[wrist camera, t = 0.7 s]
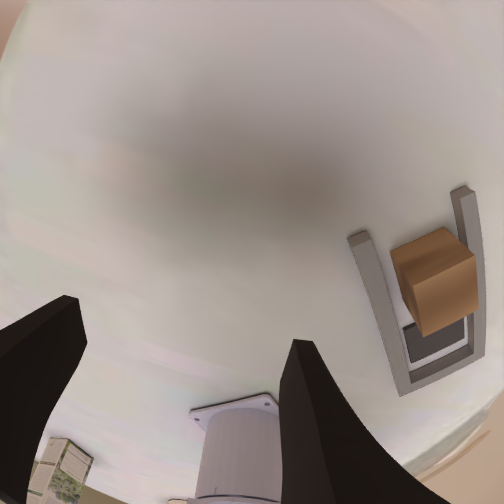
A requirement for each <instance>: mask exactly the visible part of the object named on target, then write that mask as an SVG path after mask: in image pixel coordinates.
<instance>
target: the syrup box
mask: <svg viewBox="0 0 504 504" xmlns="http://www.w3.org/2000/svg"><path fill="white" fill-rule="evenodd" d="M92 462H93V458H91V457H90V456H89V455H87V454H86V453H85V452H83V451H82V450H81V449H80V448H78V447H77V446H76V445H74V444H73V443H72V442H71V441H69V440H68V439H60V438H50V439H49V441H48V444H47V446H46V448H45V451H44V453H43V455H42V457H41V460H40V462H39V464H38V466H37V468H36V471H35V473H34V475H33V477H32V479H31V482H30V484H29V486H28V493H27V501H26V504H78V502H79V499H80V496H81V493H82V490H83V487H84V484H85V482H86V479H87V476H88V473H89V470H90V468H91V465H92Z"/></svg>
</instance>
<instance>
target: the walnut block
mask: <svg viewBox="0 0 504 504" xmlns="http://www.w3.org/2000/svg"><path fill="white" fill-rule="evenodd" d="M390 255H391V258H392V262H393V265H394V269H395V272H396V276H397V280H398V283H399V287H400V291H401V295H402V299H403V301H404V303H405V305H406V306H407V308H408V310H409V312H410V314H411V315H412V317H413V319H414V321H415V323H416V325H417V327H418V328H419V330H420V332H421V334H422V336H423V337H425V336H427V335H429V334H432V333H434V332H436V331H438V330H440V329H442V328H444V327H446V326H448V325H450V324H452V323H454V322H456V321H458V320H460V319H461V318H463V317H465V316H467V315H469V314H471V313H473V312H474V311H476V310H478V309H479V302H478V282H477V269H476V258H475V254H473V253H472V252H471V251H470V250H469V249H468V248H467V247H466V246H465V245H464V244H463V243H461V242H460V241H459V240H458V239H457V238H456V237H455V236H454V235H452V234H451V233H450V232H449V231H448V230H447V229H446V228H444V227H442V228H440V229H438V230H436V231H434V232H432V233H429V234H427V235H425V236H423V237H421V238H419V239H417V240H414V241H412V242H410V243H408V244H406V245H403V246H401V247H399V248H397V249H395V250H392V251H390Z"/></svg>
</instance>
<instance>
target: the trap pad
mask: <svg viewBox="0 0 504 504" xmlns="http://www.w3.org/2000/svg"><path fill="white" fill-rule="evenodd" d="M403 331H404V335H405V339H406V344H407V348H408V353H409V357H410V361H411V364H412V363H414V362H416V361H418V360H421V359H423V358H425V357H427V356H429V355H431V354H433V353H436V352H438V351H440V350H442V349H444V348H446V347H448V346H450V345H452V344H454V343H456V342H458V341H460V340H461V339H463V338H464V317H463V318H461V319H460V320H458V321H456V322H454V323H452V324H450V325H448V326H446V327H444V328H442V329H440V330H438V331H436V332H434V333H432V334H429V335H427V336H425V337H423V336H422V334H421V332H420V330H419V328H418V327H417V325H416V323H413V324H411V325H409V326H407V327H405V328H403Z"/></svg>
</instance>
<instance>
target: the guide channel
mask: <svg viewBox="0 0 504 504" xmlns="http://www.w3.org/2000/svg"><path fill="white" fill-rule="evenodd" d="M450 194H451V198H452V203H453V208H454V212H455V218H456V223H457V228H458V234H459V240H460V242H461V243H463V244H464V245H465V246H466V247H467V248H468V249H469V250H470V251H471V252H472V253H473V254H475V258H476V269H477V282H478V302H479V309H478V310H476V311H474V312H473V313H471V314H469V315H467V320H468V345H466V346H464V347H462V348H460V349H458V350H457V351H455V352H453V353H451V354H449V355H447V356H445V357H443V358H441V359H438V360H436V361H434V362H432V363H430V364H428V365H426V366H424V367H421V368H419V369H417V370H415V371H412V372H410V373H409V372H408V367H407V363H406V358H405V354H404V350H403V345H402V341H401V337H400V333H399V329H398V325H397V322H396V318H395V314H394V310H393V307H392V303H391V300H390V296H389V293H388V289H387V286H386V283H385V279H384V276H383V273H382V270H381V267H380V263H379V260H378V257H377V254H376V251H375V248H374V245H373V242H372V239H371V238H370V236H369V235H368V233H367V232H366V231H364V232H361V233H359V234H357V235H355V236H352V237H350V238H348V239H347V240H348V243H349V245H350V248H351V250H352V253H353V256H354V258H355V261H356V264H357V266H358V269H359V272H360V274H361V277H362V280H363V283H364V286H365V288H366V291H367V294H368V297H369V300H370V303H371V306H372V309H373V312H374V315H375V318H376V321H377V324H378V327H379V330H380V333H381V337H382V340H383V343H384V346H385V350H386V353H387V356H388V360H389V363H390V367H391V370H392V374H393V377H394V381H395V385H396V388H397V391H398V394H399V397H401V396H403V395H405V394H408V393H410V392H413V391H415V390H417V389H420V388H422V387H424V386H426V385H428V384H431V383H433V382H435V381H437V380H439V379H441V378H443V377H445V376H447V375H449V374H451V373H453V372H455V371H457V370H459V369H461V368H463V367H465V366H467V365H469V364H471V363H473V362H474V361H476V360H478V359H480V358H482V357H483V356H485V339H486V282H485V265H484V252H483V242H482V234H481V226H480V218H479V212H478V206H477V200H476V194H475V191H473V190H471V189H470V188H468V187H466V186H464V187H461V188H459V189H457V190H455V191H453V192H451V193H450Z"/></svg>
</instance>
